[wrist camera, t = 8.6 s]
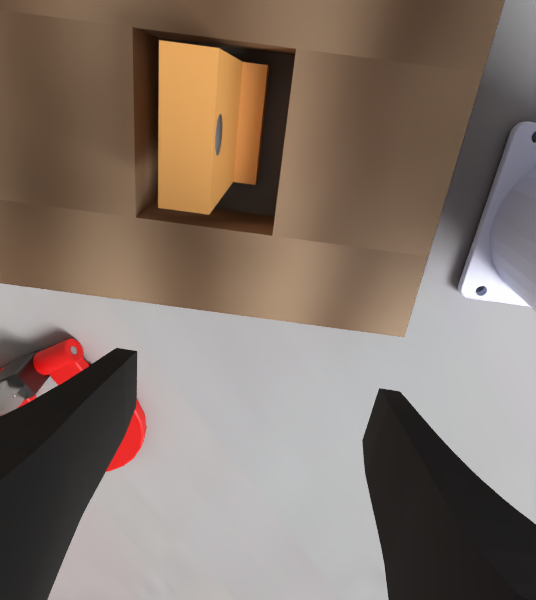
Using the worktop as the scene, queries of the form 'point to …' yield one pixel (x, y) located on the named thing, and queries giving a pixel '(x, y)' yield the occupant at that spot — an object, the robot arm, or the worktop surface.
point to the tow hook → (60, 366)
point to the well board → (273, 155)
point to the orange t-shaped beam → (207, 124)
